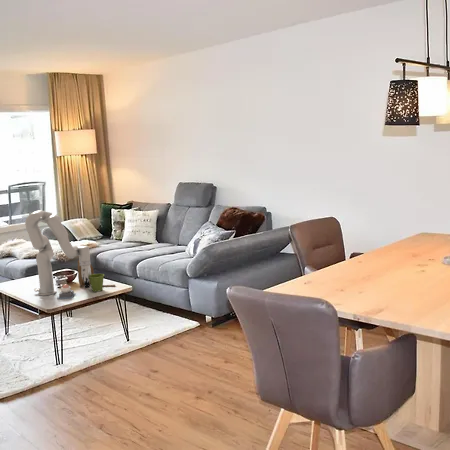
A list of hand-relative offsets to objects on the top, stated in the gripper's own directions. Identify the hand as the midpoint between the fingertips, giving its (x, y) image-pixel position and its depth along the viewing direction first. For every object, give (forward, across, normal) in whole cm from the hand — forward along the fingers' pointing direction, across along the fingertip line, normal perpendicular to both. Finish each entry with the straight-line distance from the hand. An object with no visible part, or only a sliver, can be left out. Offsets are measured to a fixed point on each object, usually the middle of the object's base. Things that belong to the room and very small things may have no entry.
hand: (87, 287), depth 394 cm
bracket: (+2, +10, -11) cm, 15 cm away
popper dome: (+1, -13, +12) cm, 17 cm away
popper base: (+3, -13, +12) cm, 18 cm away
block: (+3, +19, +5) cm, 20 cm away
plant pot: (+3, 0, -7) cm, 8 cm away
